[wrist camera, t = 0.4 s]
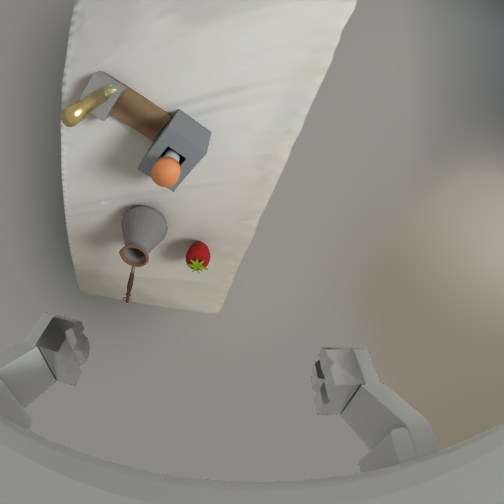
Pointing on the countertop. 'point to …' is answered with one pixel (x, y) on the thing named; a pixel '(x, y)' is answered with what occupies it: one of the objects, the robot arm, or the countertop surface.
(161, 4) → the countertop surface
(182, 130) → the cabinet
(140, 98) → the rail
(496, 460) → the robot arm
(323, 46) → the countertop surface
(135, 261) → the coffee pot
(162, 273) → the countertop surface
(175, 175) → the button
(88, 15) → the countertop surface
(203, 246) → the strawberry
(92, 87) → the carriage
